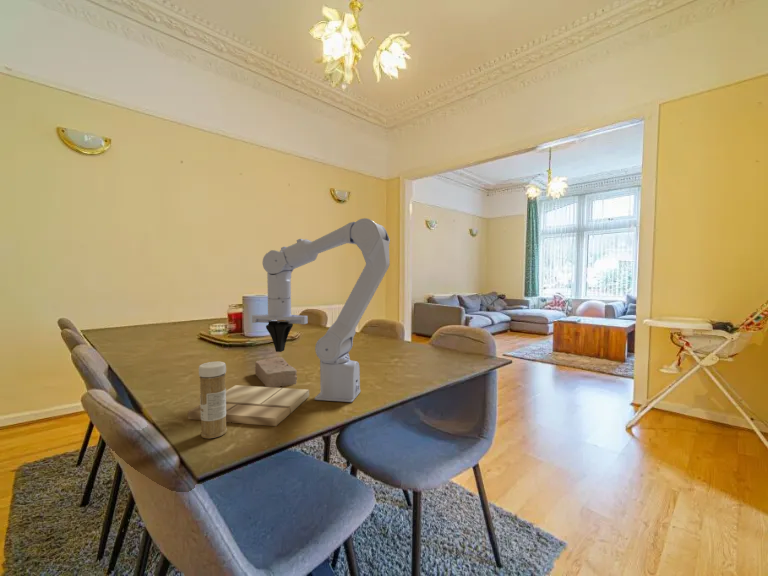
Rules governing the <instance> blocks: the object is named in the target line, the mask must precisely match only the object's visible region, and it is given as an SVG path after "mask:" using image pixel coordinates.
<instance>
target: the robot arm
mask: <svg viewBox="0 0 768 576" xmlns="http://www.w3.org/2000/svg"><path fill="white" fill-rule="evenodd" d="M390 242H391V239H390V237H389V234H388V232H387V229H386V228H385V227H384V225H381V224H380V223H378V222H377V223H376V222H375V221H373V220H372V219H370V218H366V217H364V218H360V219H357V221H350V222H348V223H347V224H345V225H344V226H342V227H341V226H340V227H339V228H337V229H335V230H333V231H331V232H329V233H326V234H325V235H323V236H321V237H319V238H317V239H315V240H313V241H312V240H309V239H307V238H305V239H303V238H299V239H296V242H295V243H293V244H292V245H288V246H282V247H280V250H279V251H278V250H275V249H274V250H273V249H270V250H269V251H268V252H266V253H265V255H263V257H262V267H263V269H264V270H265V272H266V273H267V274H266V276H267V277H266V278H267V281H266V282H267V314H265V313H264V314H252V315H251V324H257V323H268V324H267V325H266V326H265V328H266V330H267V332H268V334H269V335H270V338H271V340H272V343H273V345H274V349H275V350H274V351H275V352H276V353H282V352H284V351H285V348H286V343H287V341H288V337H289V334H290V332H291V330H292V328H293V326H294V324H296V325H297V324H298V325H306V324H309V323H308V321H309V319H308V316H309V315H301V314H300V315H299V314H292V283H291V282H292V272H293V271H294V270H295V269H297V268H300V267H302V266H305V265H307V264H310V263H312V262H314V261H316V260H317V257H318V255H319V254H321V253H325V252H327V251H328V250H332V249H334V248H337V247H340V246H343V245H346V244H348V245H349V244H351V245H355V246H357V248H358V249H359V250H360V252H361V253H362V257H363V259H364V261H365V265H364V268H363V269H362V272H361V273H360V275H359V277H358V279H357V281H356V282H355V284H354V286H353V287H352V290H351V292H350V294H349V296H348V297H347V299H346V301H345V303H344V305H343V307H342V309H341V311H340V313H339V315H338V316H337V318H336V320H335V321H334V323H333V324H332V325H330V327H329V328H328V329H327V331H326V333H325V334H324V335H323V336H321V337H320V338H319V339H318V340H317V341H316V343H315V346H314V347H315V348H314V350H315V354H316V356H317V357H318V359H319V364H320V365H319V367H320V369H319V374H320V375H319V378H320V392H319V393H318V394H317V395H316V396H315V397H314V400H315V401H330V402H344V403H353V402H354V400H355V399H356V398H357V397H358V395H359V394H360V393H361V381H360V380H361V377H360V375H361V371H360V370H361V369H360V363H359V362H358V361H356V360H351V358H350V354H349V353H350V351H351V350H352V348H353V345H354V342H353V341H354V337H355V335H356V333H357V332H356V329H357V328H356V327H358V325H359V323H360V321H361V319H362V317H363V316H364V313H365V312H366V310H367V308H368V306H369V305H370V303H371V301H372V299H373V296H374V295H375V293H376V292H377V290H378V288H379V286H380V285H381V282H382V280H383V278H384V277H385V276H386V273H387V272H388V269H389V267H390V262H391V261H390Z"/></svg>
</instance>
